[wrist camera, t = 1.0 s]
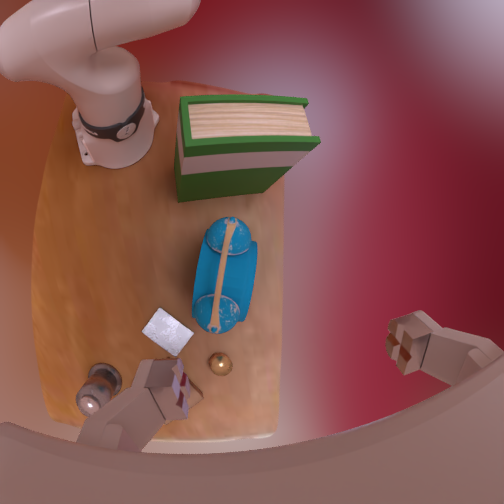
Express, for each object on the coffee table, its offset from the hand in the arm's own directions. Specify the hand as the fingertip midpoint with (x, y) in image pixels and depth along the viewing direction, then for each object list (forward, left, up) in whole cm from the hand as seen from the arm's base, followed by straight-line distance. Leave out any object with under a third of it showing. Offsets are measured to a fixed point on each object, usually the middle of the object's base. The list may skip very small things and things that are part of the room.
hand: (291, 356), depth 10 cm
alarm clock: (0, +5, -43) cm, 44 cm away
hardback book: (-15, +17, -43) cm, 49 cm away
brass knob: (+14, -5, -43) cm, 46 cm away
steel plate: (+3, -9, -44) cm, 45 cm away
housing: (+3, -26, -43) cm, 50 cm away
